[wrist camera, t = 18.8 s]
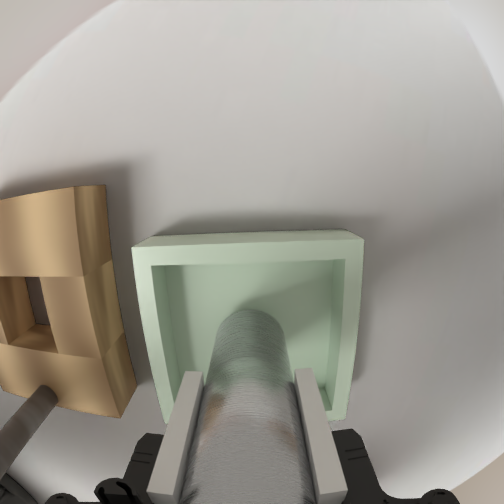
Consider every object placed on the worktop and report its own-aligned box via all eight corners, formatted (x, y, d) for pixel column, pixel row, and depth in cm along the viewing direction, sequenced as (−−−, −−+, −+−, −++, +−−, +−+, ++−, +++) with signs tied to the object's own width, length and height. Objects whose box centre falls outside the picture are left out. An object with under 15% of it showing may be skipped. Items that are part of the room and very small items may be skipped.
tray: (174, 394, 21) (164, 423, 18) (151, 236, 19) (131, 247, 15) (334, 389, 21) (345, 419, 18) (345, 229, 19) (364, 239, 15)
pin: (210, 376, 18) (165, 616, 4) (201, 300, 17) (97, 579, 2) (293, 374, 18) (338, 616, 3) (295, 297, 17) (389, 584, 2)
